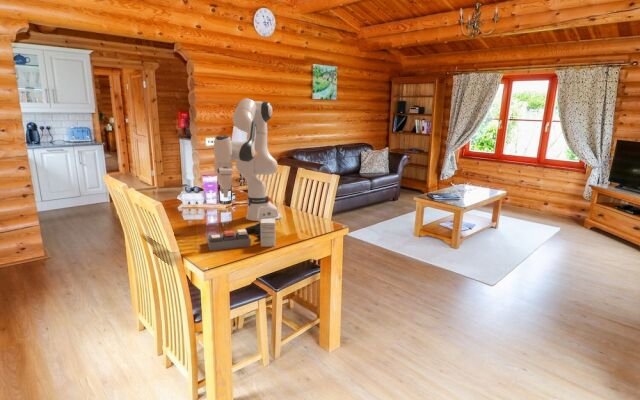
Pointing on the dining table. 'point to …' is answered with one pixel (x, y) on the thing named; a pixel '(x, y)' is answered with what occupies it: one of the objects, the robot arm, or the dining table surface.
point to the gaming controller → (254, 230)
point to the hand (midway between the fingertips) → (224, 195)
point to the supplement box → (267, 232)
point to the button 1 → (215, 236)
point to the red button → (229, 233)
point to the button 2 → (242, 231)
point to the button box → (228, 241)
